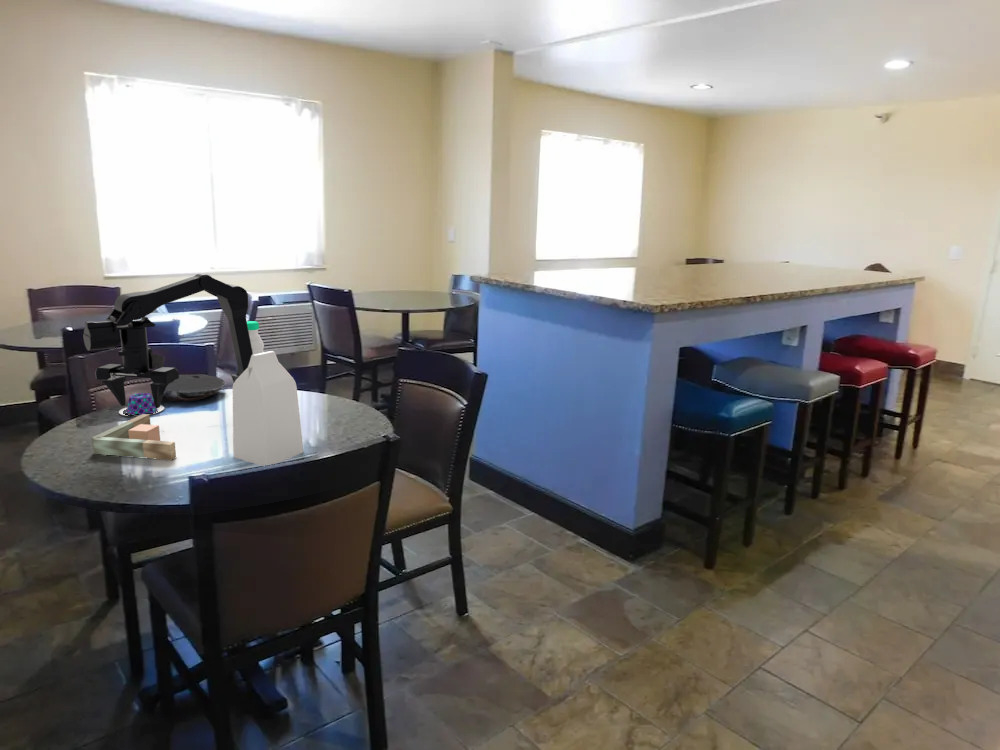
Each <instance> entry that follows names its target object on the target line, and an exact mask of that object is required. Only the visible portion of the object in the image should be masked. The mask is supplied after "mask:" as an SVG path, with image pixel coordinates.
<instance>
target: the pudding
mask: <svg viewBox="0 0 1000 750" xmlns="http://www.w3.org/2000/svg"><path fill="white" fill-rule="evenodd" d="M126 409H127V412H126V413H130V414H134V416H136V415H135V414H139V415H138V416H140V414H146V413H153V412H154V411H156V413H155V412H154V413H153V414H152V415H154V414H157V413H160V412H162V411H164V410H165V406H163V405H162V404H160V407H159V408H156V407H155V404H154V400H153V396H152V394H150V393H146V392H143V393H142V392H141V393H134V394H130V396H129V398H128V403H127V407H124V408H121V409H120V410H119V411H118V413H119V414H120V415H121V416H127V417H129V416H128V415H130V414H128V415H125V414H123V411H124V410H126ZM157 411H158V412H157Z"/></svg>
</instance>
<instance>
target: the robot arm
mask: <svg viewBox="0 0 1000 750" xmlns="http://www.w3.org/2000/svg"><path fill="white" fill-rule="evenodd" d="M200 292H206V293H207V294H210V295H212V296H214V297H215V298H217V301H218V303H219V306H220V308H221V310H222V311H223V313H224V315H225V317H226V318H227V321H228V327H229V331H230V336H231V340H232V345H233V351H234V355H235V362H236V365H237V370H236V373H235V374H231V379H232V381H233V383H234V382H235V381H236V379H237V378H238V377H239V376H240V375H241V374H242V373H243V372H244V371H245V370H246V369H247V368H248V365H249V362H250V359H251V356H252V355H253V352H252V347H251V341H250V336H249V331H248V326H247V314H248V311H249V310H248V309H249V294H248V292H247V290H246V289H245V288H243V287H242V286H239V285H234V284H230V283H225V282H223V281H220V280H218V279H216V278H213V277H212V276H211V275H210V274H205V273H197V274H195V275H193V276H191V277H188V278H185V279H182V280H179V281H176V282H173V283H170V284H167V285H164V286H161V287H158V288H155V289H152V290H146V291H144V290H143V291H135V292H128V293H123V294H120V295H118V296H117V297H116V300H115V302H114V308H113V310H111V312H110V314H109V315H108V317H106V319H105V320H100V321H84V329H83V334H82V335H83V336H82V338H83V344H84V346H85V348H86V350H87V351H88V352H89V351H101V350H107V349H116V347H117V346H119V345H121V346H120V347H121V350H119V351H118V352H117V353H118V356H121V357H122V364H120V363H119V364H117V363H116V364H115V363H108V364H105V365H102V366H98V367H97V368H96V370H95V372H94V374H95V379H96V380H100V383H101V384H104V385H105V386H106V388H107V389H109V391H110V392H111V394H113V396H114V398H115V399H116V400H117V403H119V405H120V406H121V407H124V406H126V402H127V401H126V391H125V382H126V380H127V378H128V377H129V378H130V377H131V378H147V379H150V381H151V382H153V383H150V384H149V385H150V390H151V396H152V398H153V400H154V404H155V407H156V408H159V407H160V405H162V400H163V398H164V392H165V389H166V387H167V386H168V384H169V383H172V382H174V380H176V379H178V378H179V375H180V374H179V373H180V372H179V370H178V369H177V368H176V367H165V366H164V362H165V356H163V355H159V354H156V353H153V349H152V348H151V347H149V345H148V333H147V328H153V327H156V324H155V323H154V322H152V321H151V320H150V319H149V318H148V317H147V316H148V315H150V314H152V313H153V312H154V311H156V310H157V309H159V308H160V307H162V306H164V305H166V304H169V303H172V302H176V301H178V300H181V299H185V298H186V297H190V296H193V295H195V294H198V293H200Z"/></svg>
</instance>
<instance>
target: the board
mask: <svg viewBox="0 0 1000 750" xmlns="http://www.w3.org/2000/svg"><path fill="white" fill-rule="evenodd" d="M152 383H153V382H152V381H151V382H150V384H152ZM226 384H227V383H226V380H224V379H223V378H220V377H217V376H214V375H213V376H212V375H204V374H179V378H178V379H176V380H174V382H172V383H169V384H168V386H167V387H166V389H165V392H164V395H163V397H165V398H166V399H167V400H168V401H170V400H171V402H183V401H184V402H185V403H186V402H187V401H189V402H192V401H199V400H203V399H205V398H209V397H211V396H213V395H216V394H217V393H219V392H220V391H221V390H222V388H224V386H225V385H226ZM187 403H188V402H187Z"/></svg>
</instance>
